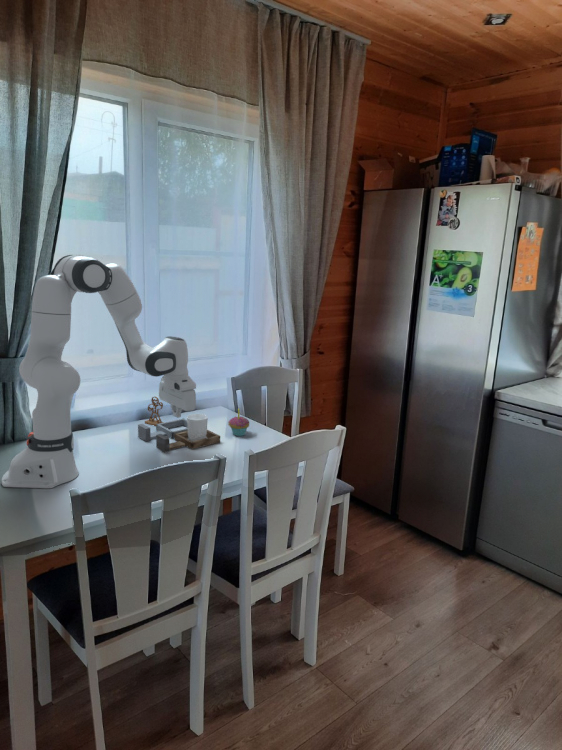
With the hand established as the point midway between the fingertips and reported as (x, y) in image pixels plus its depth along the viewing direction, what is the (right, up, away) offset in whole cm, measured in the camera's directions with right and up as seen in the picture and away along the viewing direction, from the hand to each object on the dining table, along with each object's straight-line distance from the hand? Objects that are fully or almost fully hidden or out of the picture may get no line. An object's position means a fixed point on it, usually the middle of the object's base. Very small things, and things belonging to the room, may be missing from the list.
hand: (176, 416), depth 205 cm
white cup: (+6, -11, +9) cm, 15 cm away
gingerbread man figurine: (-14, -5, +26) cm, 30 cm away
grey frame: (-7, -8, +16) cm, 19 cm away
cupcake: (+21, -9, +19) cm, 30 cm away
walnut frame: (+3, -11, +6) cm, 12 cm away
